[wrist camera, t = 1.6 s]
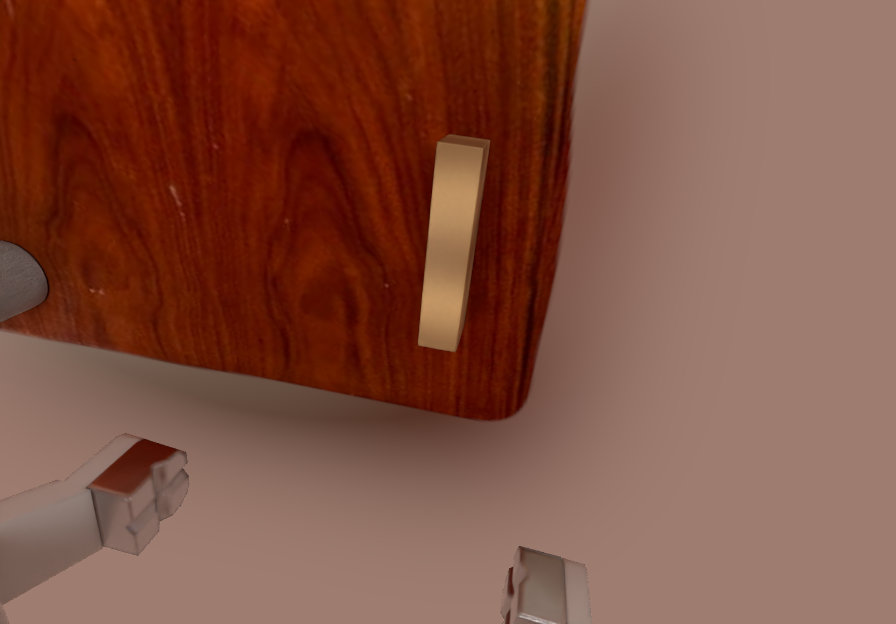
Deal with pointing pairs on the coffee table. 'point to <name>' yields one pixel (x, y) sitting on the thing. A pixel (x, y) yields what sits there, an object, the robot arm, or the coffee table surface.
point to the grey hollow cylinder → (19, 281)
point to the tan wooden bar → (451, 239)
